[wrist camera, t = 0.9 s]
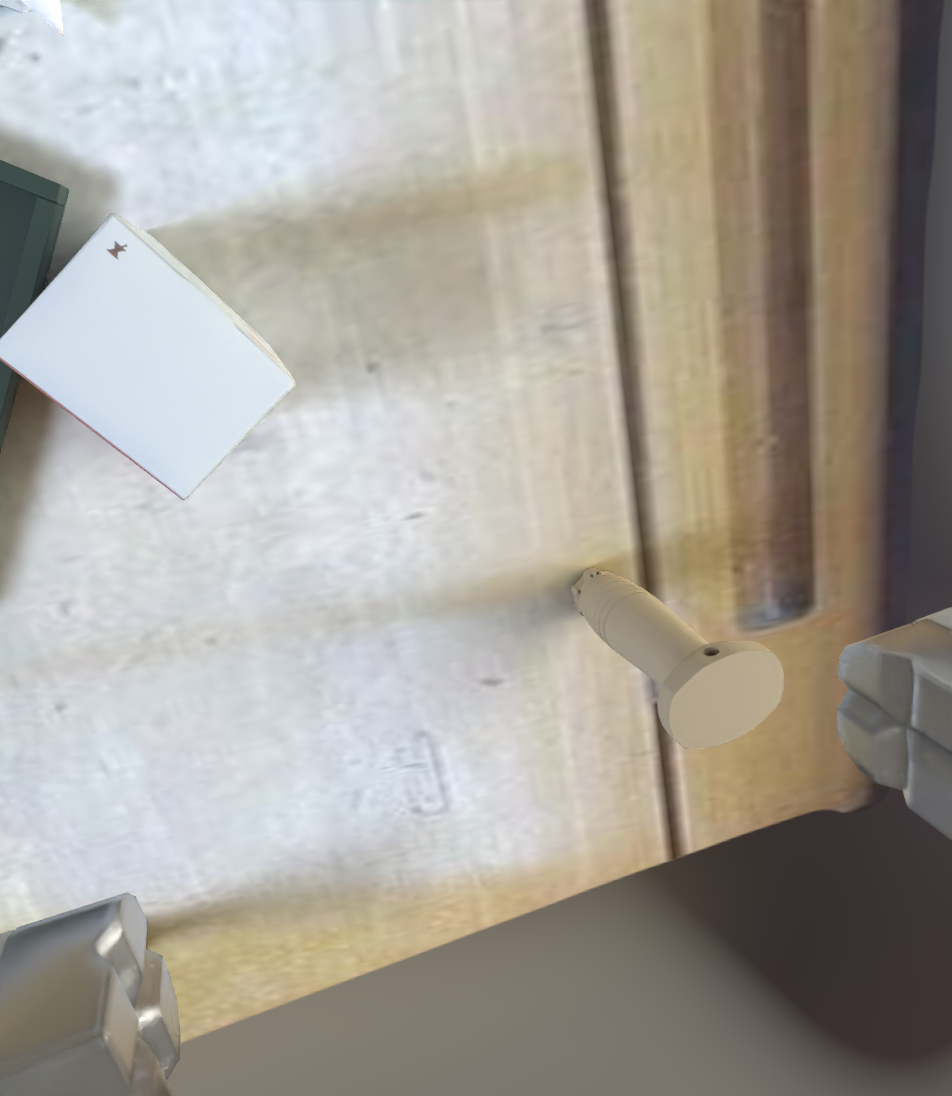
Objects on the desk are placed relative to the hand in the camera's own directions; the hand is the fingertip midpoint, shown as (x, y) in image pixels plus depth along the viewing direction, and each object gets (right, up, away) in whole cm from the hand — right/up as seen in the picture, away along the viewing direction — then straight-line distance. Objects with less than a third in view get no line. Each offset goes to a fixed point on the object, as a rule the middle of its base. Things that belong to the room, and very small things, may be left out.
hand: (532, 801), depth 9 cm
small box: (-16, +13, +30) cm, 37 cm away
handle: (+7, 0, +43) cm, 43 cm away
